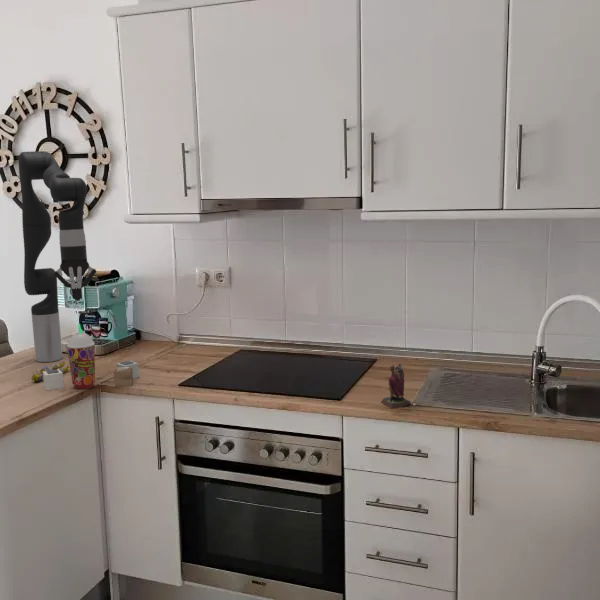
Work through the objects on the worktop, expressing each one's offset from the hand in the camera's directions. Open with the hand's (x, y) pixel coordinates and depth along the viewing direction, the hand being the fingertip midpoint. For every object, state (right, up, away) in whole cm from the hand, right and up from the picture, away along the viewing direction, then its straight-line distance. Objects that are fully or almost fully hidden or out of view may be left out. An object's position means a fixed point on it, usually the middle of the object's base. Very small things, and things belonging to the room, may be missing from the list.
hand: (77, 300), depth 216 cm
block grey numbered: (+12, -25, +13) cm, 31 cm away
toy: (-14, -26, +16) cm, 34 cm away
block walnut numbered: (+13, -27, +6) cm, 30 cm away
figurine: (+96, -29, -19) cm, 102 cm away
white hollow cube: (-9, -27, +5) cm, 29 cm away
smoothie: (+1, -27, +5) cm, 28 cm away
